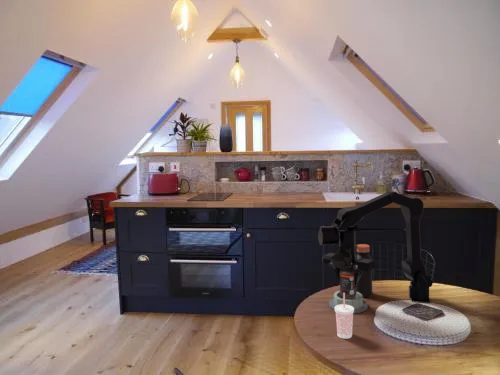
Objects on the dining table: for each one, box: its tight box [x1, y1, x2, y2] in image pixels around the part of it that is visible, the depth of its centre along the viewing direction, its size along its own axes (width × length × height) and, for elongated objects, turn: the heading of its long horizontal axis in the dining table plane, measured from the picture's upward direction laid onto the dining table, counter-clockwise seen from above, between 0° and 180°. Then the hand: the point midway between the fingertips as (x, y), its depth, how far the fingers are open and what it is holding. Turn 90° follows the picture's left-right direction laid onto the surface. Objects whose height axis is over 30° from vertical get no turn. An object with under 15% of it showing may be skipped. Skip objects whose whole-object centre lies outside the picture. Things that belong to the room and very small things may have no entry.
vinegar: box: [353, 243, 373, 298], centre depth 157 cm, size 7×7×20 cm
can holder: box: [328, 290, 368, 315], centre depth 148 cm, size 14×14×4 cm
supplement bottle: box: [339, 265, 356, 297], centre depth 147 cm, size 6×6×11 cm
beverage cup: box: [334, 293, 354, 339], centre depth 125 cm, size 6×6×14 cm
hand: (348, 283), depth 147 cm, fingers closed on supplement bottle, 6 cm apart
